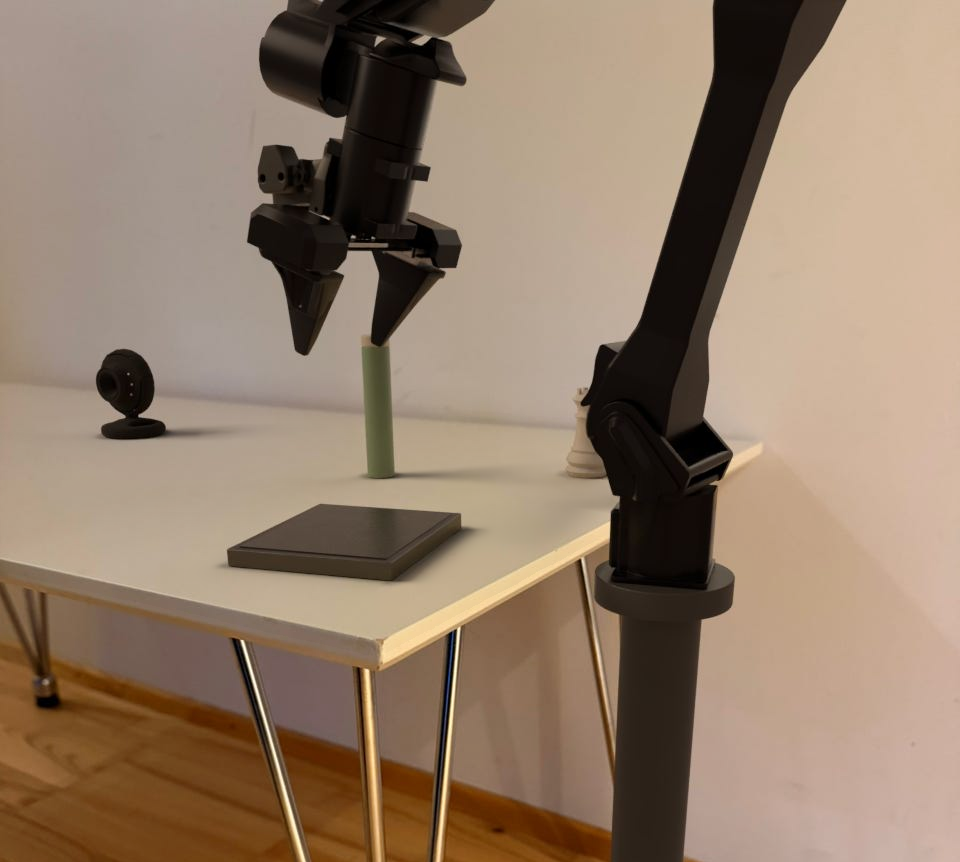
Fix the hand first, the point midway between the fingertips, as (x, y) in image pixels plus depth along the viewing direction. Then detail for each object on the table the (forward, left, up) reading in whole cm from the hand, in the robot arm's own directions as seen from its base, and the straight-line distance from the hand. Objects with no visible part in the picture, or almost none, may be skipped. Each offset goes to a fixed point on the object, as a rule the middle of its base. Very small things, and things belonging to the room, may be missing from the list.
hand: (340, 349), depth 78 cm
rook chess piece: (-16, -19, -13) cm, 28 cm away
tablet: (-5, +11, -13) cm, 18 cm away
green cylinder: (+3, -13, -13) cm, 18 cm away
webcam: (+42, -28, -13) cm, 52 cm away
